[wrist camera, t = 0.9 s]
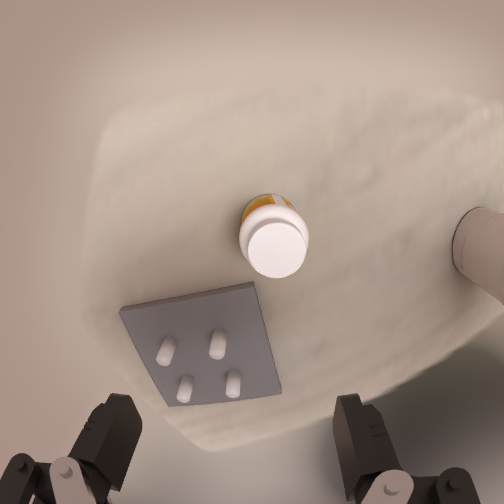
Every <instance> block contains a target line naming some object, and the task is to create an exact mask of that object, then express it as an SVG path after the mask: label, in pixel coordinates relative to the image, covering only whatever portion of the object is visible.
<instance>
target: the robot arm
mask: <svg viewBox="0 0 504 504" xmlns="http://www.w3.org/2000/svg"><path fill="white" fill-rule="evenodd" d="M453 259H454V264H455V266H456V268H457V269H458V270H459V272H460V273H462V274H463V275H465V276H466V277H468V278H469V279H470V280H472V281H473V282H474V283H476V284H477V285H478V286H480V287H481V288H482V289H484V290H485V291H487V292H488V293H489V294H491V295H492V296H493V297H495V298H496V299H497V300H498V301H500V302H501V303H502V304H504V214H501V213H498V212H495V211H492V210H490V209H487V208H482V207H479V208H475V209H473V210H471V211H470V212H469V213H467V214H466V215H465V217H464V218H463V219H462V220H461V222H460V224H459V226H458V228H457V231H456V233H455V237H454V241H453ZM141 432H142V420H141V417H140V415H139V413H138V411H137V409H136V407H135V405H134V402H133V400H132V398H131V397H130V396H129V395H123V394H115V393H112V394H110V396H109V397H108V399H107V401H106V403H105V404H103V403H101V404H100V405H99V406H97V407H96V408H95V409H94V410H93V411H92V413H91V415H90V416H89V418H88V422H86V424H85V425H84V429H82V431H81V433H80V435H79V437H78V438H77V440H76V442H75V444H74V446H73V448H72V450H71V452H70V453H69V455H68V456H67V457H61V458H58V459H56V460H55V461H54V462H53V463H39V462H35V461H34V460H33V459H32V458H31V457H30V456H29V455H27V454H24V453H20V454H17V455H15V456H14V457H12V459H11V460H10V462H9V464H8V466H7V468H6V469H5V471H4V473H3V476H2V477H1V480H0V504H29V502H30V499H31V497H32V495H35V498H34V501H33V503H32V504H112V501H111V499H110V497H109V495H108V493H109V491H110V489H111V490H115V491H118V492H120V490H121V487H122V484H123V481H124V478H125V476H126V472H127V470H128V467H129V464H130V461H131V459H132V456H133V453H134V451H135V448H136V445H137V443H138V440H139V437H140V435H141ZM333 434H334V438H335V444H336V448H337V453H338V458H339V463H340V468H341V473H342V478H343V483H344V488H345V494H346V499H347V501H352V500H355V501H356V504H480V501H479V498H478V495H477V492H476V489H475V486H474V484H473V481H472V479H471V476H470V475H469V473H468V472H467V471H466V470H464V469H462V468H458V467H455V468H450V469H447V470H445V471H444V472H443V473H442V474H441V475H440V476H432V477H415V476H412V475H409V474H407V473H406V472H404V471H403V469H402V468H401V467H400V465H399V462H398V460H397V456H396V454H395V451H394V448H393V445H392V443H391V440H390V437H389V435H388V433H387V429H386V427H385V426H384V421H383V419H382V416H381V413H380V412H379V411H378V410H377V409H376V408H375V407H374V406H373V405H372V404H370V405H364V406H362V403H361V400H360V397H359V395H358V394H357V393H355V394H349V395H342V396H338V397H337V401H336V406H335V412H334V417H333Z"/></svg>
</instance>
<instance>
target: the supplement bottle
mask: <svg viewBox="0 0 504 504" xmlns="http://www.w3.org/2000/svg"><path fill="white" fill-rule="evenodd" d="M239 243H240V248H241V251H242V253H243V255H244V257H245V258H246V260H247V261H248V262H249V263H250V264H251V265H252V266H253V268H254V269H255V270H256V271H257V272H259V273H260V274H262V275H264V276H266V277H269V278H283V277H286V276H289V275H291V274H293V273H294V272H295V271H297V270H298V269H299V268H300V266H301V265H302V263H303V261H304V259H305V255H306V251H307V248H308V243H309V235H308V229H307V226H306V224H305V222H304V220H303V219H302V217H301V216H300V215H299V213H298V212H297V211H296V209H295V208H294V207H293V206H292V204H291V203H290V202H289V201H288V200H286V199H285V198H283V197H281V196H278V195H274V194H266V195H261V196H259V197H256V198H255V199H253V200H252V201H251V202H250V203H249V204H248V205H247V207H246V208H245V210H244V213H243V216H242V221H241V226H240V233H239Z"/></svg>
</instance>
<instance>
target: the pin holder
mask: <svg viewBox="0 0 504 504" xmlns="http://www.w3.org/2000/svg"><path fill="white" fill-rule="evenodd" d="M119 314H120V316H121V318H122V321H123V323H124V325H125V327H126V329H127V331H128V333H129V335H130V338H131V340H132V342H133V344H134V346H135V348H136V350H137V352H138V354H139V355H140V357H141V359H142V361H143V363H144V365H145V367H146V369H147V371H148V372H149V374H150V376H151V378H152V380H153V381H154V383H155V385H156V387H157V388H158V390H159V392H160V393H161V395H162V397H163V399H164V400H165V402H166V403H167V405H168V407H170V406H188V405H201V404H212V403H222V402H230V401H238V400H246V399H253V398H259V397H265V396H271V395H277V394H282V393H281V386H280V382H279V378H278V374H277V370H276V367H275V363H274V359H273V355H272V351H271V347H270V344H269V340H268V336H267V332H266V328H265V324H264V320H263V317H262V313H261V309H260V305H259V301H258V297H257V293H256V289H255V285H254V282H250V283H245V284H241V285H236V286H231V287H226V288H221V289H216V290H211V291H206V292H201V293H196V294H191V295H186V296H181V297H175V298H170V299H165V300H160V301H154V302H149V303H143V304H138V305H132V306H127V307H122V308H121V310H120V311H119Z"/></svg>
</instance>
